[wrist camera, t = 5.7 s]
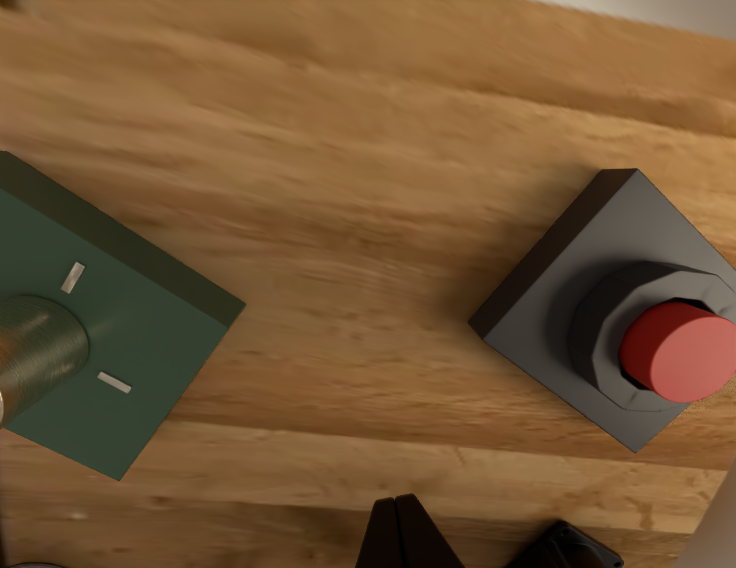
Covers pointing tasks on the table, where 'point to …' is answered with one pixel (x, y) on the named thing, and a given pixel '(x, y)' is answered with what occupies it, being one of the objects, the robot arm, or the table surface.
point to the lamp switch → (604, 299)
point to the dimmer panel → (105, 319)
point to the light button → (680, 351)
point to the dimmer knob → (36, 352)
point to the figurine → (35, 565)
